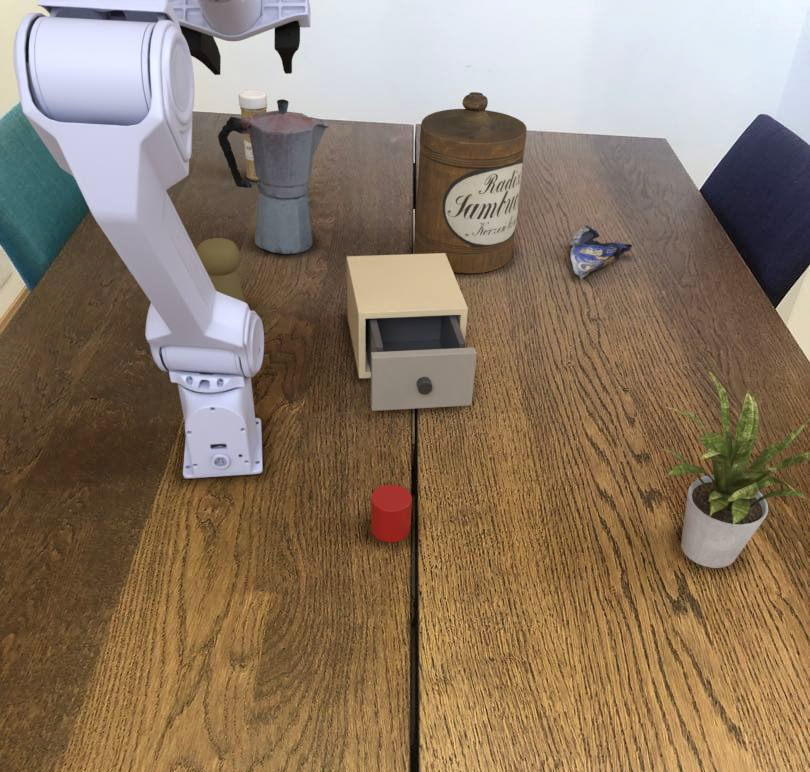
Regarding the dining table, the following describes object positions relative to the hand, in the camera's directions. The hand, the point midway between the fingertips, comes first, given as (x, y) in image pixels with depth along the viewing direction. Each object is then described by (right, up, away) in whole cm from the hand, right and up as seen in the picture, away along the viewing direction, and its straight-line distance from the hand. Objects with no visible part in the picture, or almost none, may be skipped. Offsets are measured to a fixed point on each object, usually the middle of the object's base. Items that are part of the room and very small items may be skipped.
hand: (253, 65), depth 87 cm
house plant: (+44, -51, -8) cm, 68 cm away
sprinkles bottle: (-9, +13, +57) cm, 59 cm away
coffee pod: (+15, -50, -9) cm, 53 cm away
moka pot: (-2, -6, +37) cm, 37 cm away
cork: (-7, -23, +19) cm, 30 cm away
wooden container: (+25, -7, +37) cm, 45 cm away
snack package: (+45, -9, +36) cm, 58 cm away
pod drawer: (+17, -32, +9) cm, 37 cm away
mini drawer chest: (+16, -26, +16) cm, 35 cm away
